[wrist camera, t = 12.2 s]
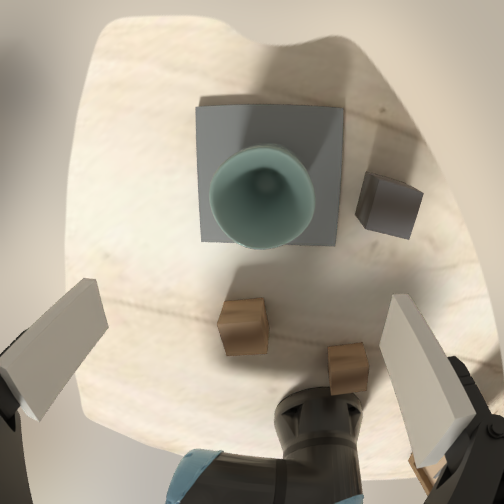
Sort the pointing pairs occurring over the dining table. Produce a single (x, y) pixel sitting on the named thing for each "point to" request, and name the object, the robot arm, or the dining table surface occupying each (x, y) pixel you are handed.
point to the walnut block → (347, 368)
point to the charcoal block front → (388, 206)
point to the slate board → (281, 132)
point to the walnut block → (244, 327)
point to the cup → (262, 196)
